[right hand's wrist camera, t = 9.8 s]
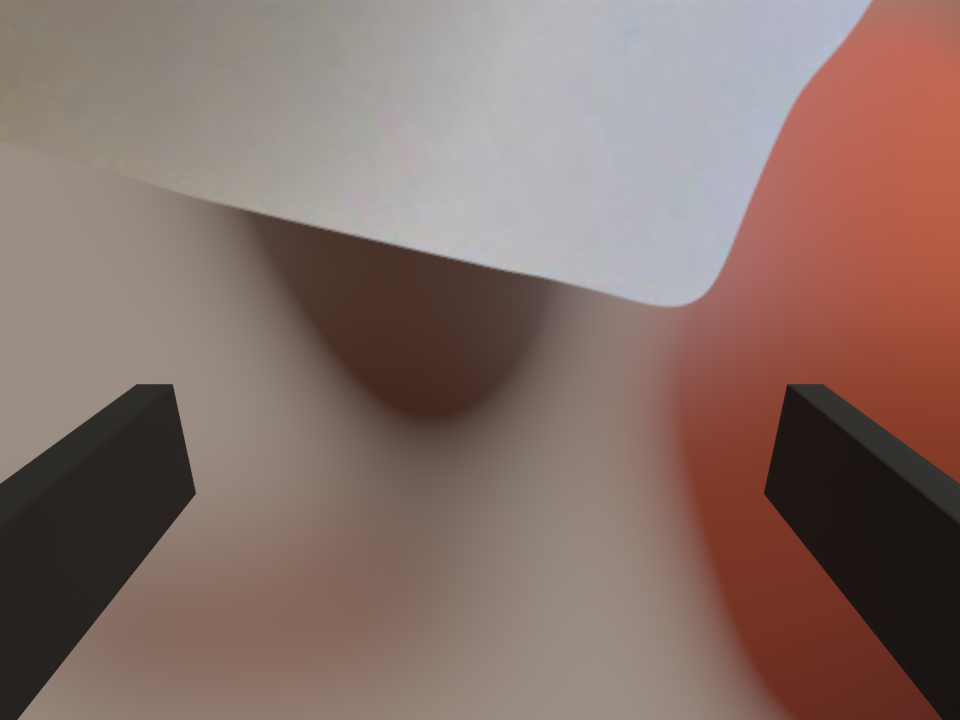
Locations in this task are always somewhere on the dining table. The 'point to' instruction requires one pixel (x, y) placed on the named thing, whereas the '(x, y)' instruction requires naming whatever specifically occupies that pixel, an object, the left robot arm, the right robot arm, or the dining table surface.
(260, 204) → the dining table surface
